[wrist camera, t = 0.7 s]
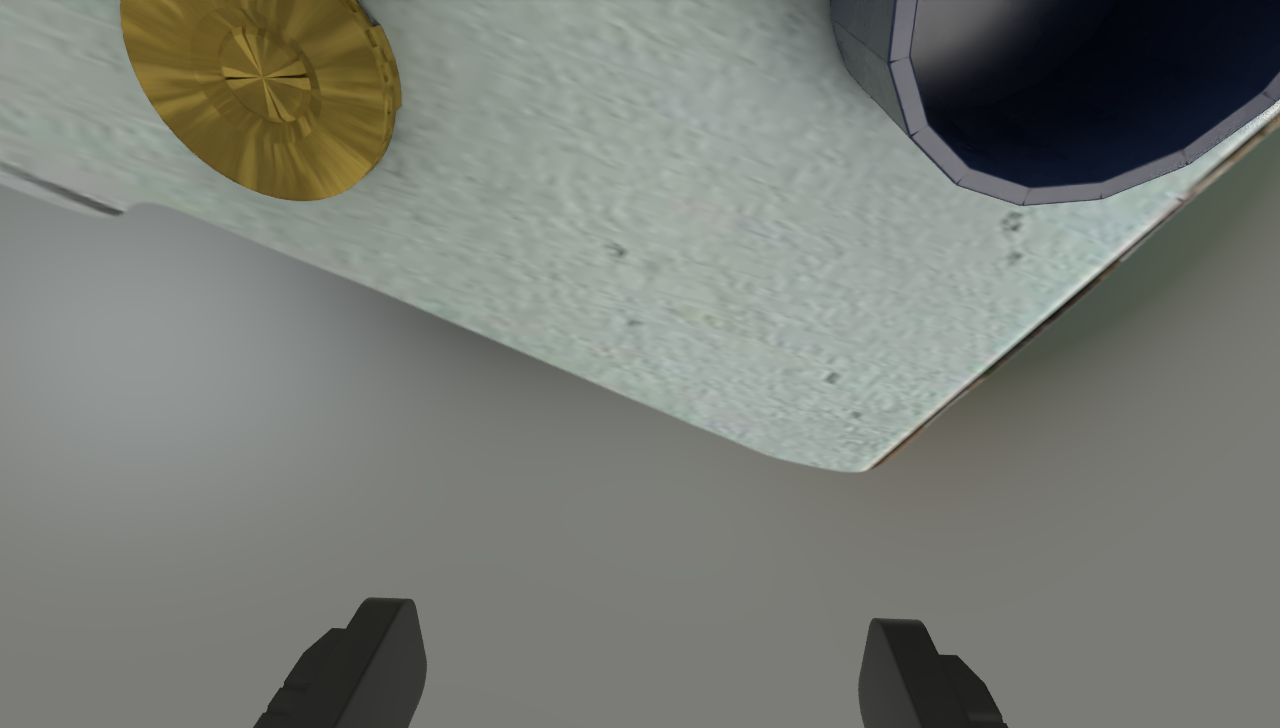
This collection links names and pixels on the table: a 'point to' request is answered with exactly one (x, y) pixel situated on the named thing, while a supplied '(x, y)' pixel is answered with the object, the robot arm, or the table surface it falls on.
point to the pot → (1063, 85)
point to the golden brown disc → (269, 88)
